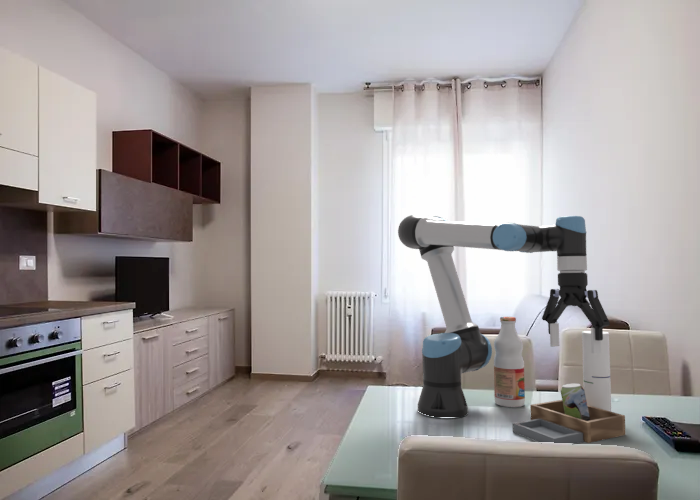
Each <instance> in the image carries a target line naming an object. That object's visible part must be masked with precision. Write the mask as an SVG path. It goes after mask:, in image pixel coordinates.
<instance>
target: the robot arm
mask: <svg viewBox="0 0 700 500" xmlns="http://www.w3.org/2000/svg"><path fill="white" fill-rule="evenodd" d="M397 235H398V239H399V241H400V243H402V245H404V246H405V247H406V248H409V249H412V250H413V249H415V250H418V251H419V253H420V258H421V259H422V260H424V261H426V262H427V266H428V270H429V272H430V275H431V279H432V283H433V286H434V290H435V293H436V296H437V299H438V303H439V307H440V310H441V313H442V317H443V321H444V324H445V327H446V329H445V331H444V332H441V333H433V334H430V335H428V336H426V337H425V338H424V339H423V340H422V350H421V353H422V388H421V392H420V395H419V399H418V401H417V412H418V411H419V412H421V413H423V414H426V415H429V416H434V417H460V418H462V417H461V416H463V417H465V415H466V416H467V415H468V414H467V413H469V411H468V409H469V407H468V403H467V400H466V397H465V394H464V390H463V388H462V374H464V373H465V374H466V373H470V372H475V371H479V370H481V369H483V368H484V367H486V366H487V365H488V364H489V362H490V360H491V359H492V354H493V348H492V344H491V341H490V340H489V338H488V337H487V336H485V335H484V334H482V333H481V330H480V328H479V325H478V324H476V323H475V322H473V321H472V318H471V315H470V314H471V313H470V311H469V307H468V304H467V302H466V298H465V295H464V291H463V288H462V285H461V282H460V278H459V274H458V272H457V269H456V265H455V262H454V259H453V255H452V254H453V253H454V251H455V247H459V248H460V247H461V248H471V249H472V248H474V249H484V250H485V249H487V250H498V251H505V252H520V253H526V254H529V253H530V254H533V253H543V252H544V253H545V252H556V258H557V259H556V261H557V263H556V264H557V265H556V267H557V268H556V269H557V271H558V273H557V285H558V286H559V288H550V290H549V297H548V301H547V303H546V306H545V308H544V311H543V313H542V315H541V316H542V317H541V320H542V321H545V322H547V326H548V329H547V331H548V334H549V337H550V339H549V341H550V343H549V345H550V347H560V325H559V324H560V323H559V322H558V320H559V318H560V316H562V314H563V313H564V312H565V310H566V308H567V307H571V306H572V307H577V308H579V309H581V311H582V313H583V314H584V315H585V317H586V318H587V319H588V321H589V322H590V324H591V325H592V327H590V331H591V352H592V353H601V340H603V332H604V330H603V329H604V328H605V327H609V326H610V324H611V323H610V321H609V318H608V316H607V314H606V312H605V310H604V308H603V305H602V303H601V301H600V299H599V293H598V290H597V289H588V290H587V286H588V273H587V272H585V271H587V270H588V259H587V230H586V219H585V217H583V216H581V215H564V216H559V217H557V218H556V220H555V224H553V225H551V224H550V225H537V226H536V225H528V224H519V223H515V222H504V223H501V222H500V223H498V222H476V221H475V222H474V221H451V220H448V219H446V218H443V217H440V216H438V215H437V216H436V215H435V216H429V215H421V214H411V215H408V216H406V217H404V219H402V221H401V222H400V223H399V224H398V229H397ZM419 412H418V413H419Z"/></svg>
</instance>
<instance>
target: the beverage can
mask: <svg viewBox="0 0 700 500" xmlns="http://www.w3.org/2000/svg"><path fill="white" fill-rule="evenodd" d="M560 395H561V400H562V401H563V406H564V412H565V414H566V415H569V416H572V417H575V418H578V419H582V420H585V421H590V416H589V411H588V406H587V401H586V396H585V391H584V388H583V385H582V384H581V383H579V382H578V383H577V382H573V383H570V382H569V383H565V384H562V385H561V389H560Z"/></svg>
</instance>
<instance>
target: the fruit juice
mask: <svg viewBox="0 0 700 500" xmlns="http://www.w3.org/2000/svg"><path fill="white" fill-rule="evenodd" d="M499 320H500V321H499V322H500V324H501V326H500V330H499V332H498V335H497V336H496V337H495V339H494V341H493V348H494V350H495V354H494V358H493V381H494V383H493V385H494V386H493V388H494V389H493V390H494V391H493V392H494V403H495V405H498V406H501V407H506V408H521V407H523V406H525V402H526V397H525V395H526V392H525V391H526V389H525V386H526V385H525V361H524V357H523V349H524V342H523V340H522V338H521V337H520V336H519V335H518V332H517V329H516V321H517V317H515V316H501V317H500V318H499Z"/></svg>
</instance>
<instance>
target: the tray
mask: <svg viewBox="0 0 700 500" xmlns="http://www.w3.org/2000/svg"><path fill="white" fill-rule="evenodd" d="M512 432H513V433H515V434H517V435H520V436H522V437H525V438H527V439H529V440H531V441H532V440H533V441H534V442H537V443H539V442H554V443H577V444H581V443H584V441H583V433H582V432H579V431H576V430H573V429H570V428H567V427H564V426H561V425H558V424H556V423H553V422H550V421H547V420H544V419H541V418H539V419H533V420H531V419H527V420H522V421H517V422H512Z"/></svg>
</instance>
